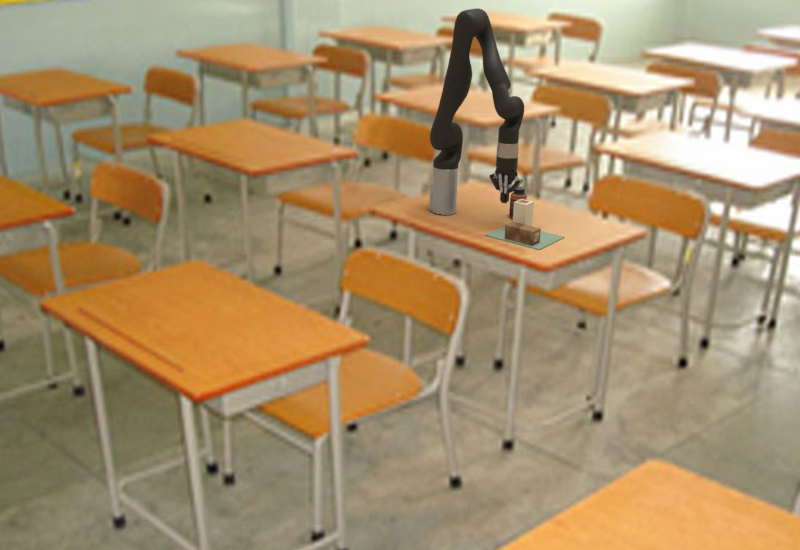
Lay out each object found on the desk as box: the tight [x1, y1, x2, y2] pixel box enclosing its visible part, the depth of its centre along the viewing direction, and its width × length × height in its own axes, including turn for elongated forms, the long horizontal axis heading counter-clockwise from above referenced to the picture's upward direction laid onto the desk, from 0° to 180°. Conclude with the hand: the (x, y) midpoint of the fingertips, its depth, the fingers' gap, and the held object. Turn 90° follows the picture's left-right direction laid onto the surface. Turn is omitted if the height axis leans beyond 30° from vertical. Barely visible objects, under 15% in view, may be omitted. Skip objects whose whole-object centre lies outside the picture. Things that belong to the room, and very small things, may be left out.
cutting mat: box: [484, 225, 565, 251], centre depth 341 cm, size 22×17×1 cm
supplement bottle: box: [508, 186, 528, 220], centre depth 360 cm, size 6×6×11 cm
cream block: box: [512, 199, 535, 226], centre depth 343 cm, size 5×5×11 cm
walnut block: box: [504, 221, 542, 246], centre depth 336 cm, size 5×5×11 cm
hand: (504, 202), depth 346 cm, fingers closed
